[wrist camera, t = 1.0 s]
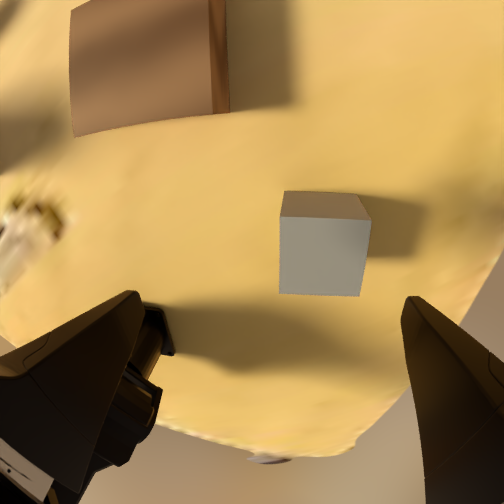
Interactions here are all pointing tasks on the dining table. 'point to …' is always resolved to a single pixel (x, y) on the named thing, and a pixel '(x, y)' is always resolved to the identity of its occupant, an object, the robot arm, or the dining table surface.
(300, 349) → the dining table surface
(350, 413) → the dining table surface
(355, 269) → the slate cube
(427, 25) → the dining table surface
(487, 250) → the dining table surface
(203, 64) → the walnut block
